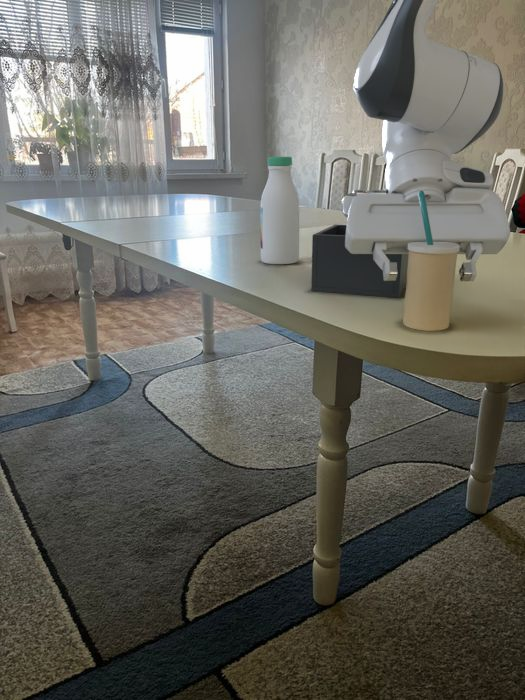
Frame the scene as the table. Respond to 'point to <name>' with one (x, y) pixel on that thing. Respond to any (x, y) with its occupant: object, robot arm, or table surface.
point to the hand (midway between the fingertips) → (429, 278)
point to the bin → (351, 268)
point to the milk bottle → (279, 215)
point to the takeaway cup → (429, 280)
